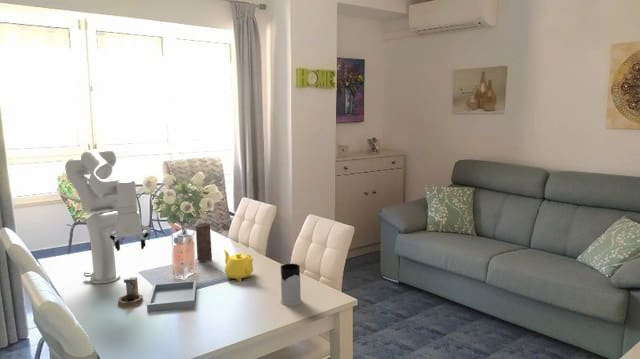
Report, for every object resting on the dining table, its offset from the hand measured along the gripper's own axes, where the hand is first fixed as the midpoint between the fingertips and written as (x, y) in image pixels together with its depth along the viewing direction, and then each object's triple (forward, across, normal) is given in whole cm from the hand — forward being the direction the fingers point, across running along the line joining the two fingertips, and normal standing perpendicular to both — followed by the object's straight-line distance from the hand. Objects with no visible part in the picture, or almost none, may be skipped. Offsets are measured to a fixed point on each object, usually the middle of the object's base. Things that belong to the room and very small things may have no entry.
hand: (130, 249), depth 202 cm
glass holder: (+21, +64, -20) cm, 70 cm away
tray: (+20, +17, -8) cm, 28 cm away
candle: (+21, +29, +38) cm, 52 cm away
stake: (+20, 0, -8) cm, 22 cm away
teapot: (+21, +46, +11) cm, 51 cm away
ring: (+20, 0, -5) cm, 21 cm away
